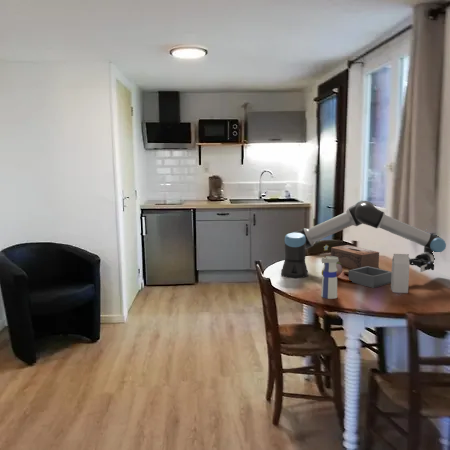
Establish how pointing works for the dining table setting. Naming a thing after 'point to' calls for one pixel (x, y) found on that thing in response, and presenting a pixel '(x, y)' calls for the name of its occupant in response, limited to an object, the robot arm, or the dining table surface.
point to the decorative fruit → (338, 269)
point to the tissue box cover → (355, 256)
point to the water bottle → (329, 277)
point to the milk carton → (400, 273)
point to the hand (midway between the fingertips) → (407, 267)
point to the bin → (370, 276)
